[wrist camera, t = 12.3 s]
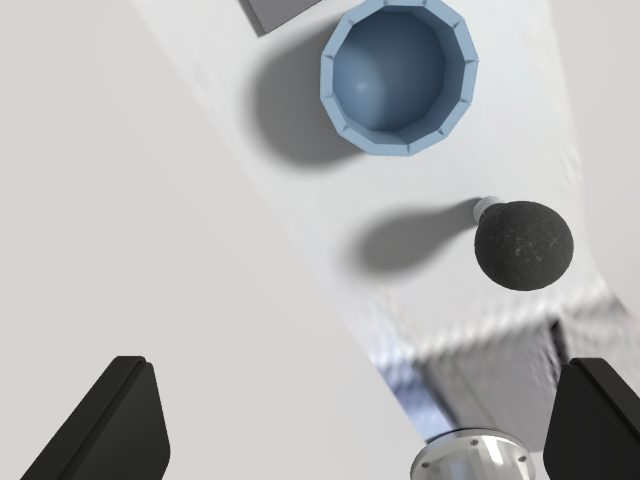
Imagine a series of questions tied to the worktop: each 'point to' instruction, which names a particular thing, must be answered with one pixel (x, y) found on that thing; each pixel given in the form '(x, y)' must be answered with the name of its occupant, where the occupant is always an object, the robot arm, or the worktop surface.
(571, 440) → the robot arm
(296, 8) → the mat
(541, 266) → the light bulb
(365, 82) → the bowl
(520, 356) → the worktop surface
